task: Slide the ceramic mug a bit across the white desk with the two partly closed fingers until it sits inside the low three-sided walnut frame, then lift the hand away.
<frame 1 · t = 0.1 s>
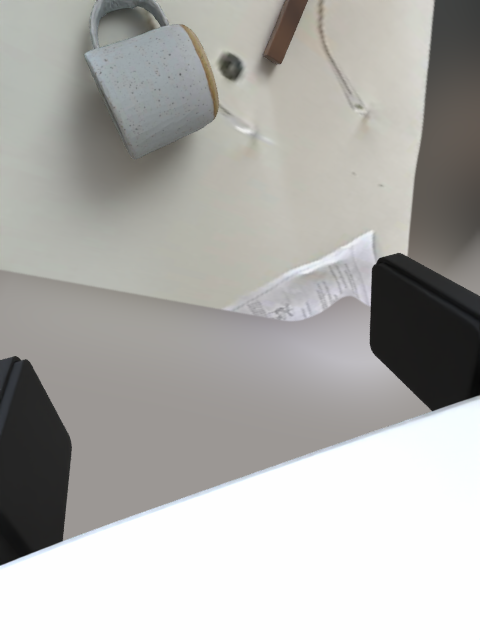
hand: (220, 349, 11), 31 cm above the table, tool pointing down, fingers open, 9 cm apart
ceramic mug: (140, 75, 34), on the table
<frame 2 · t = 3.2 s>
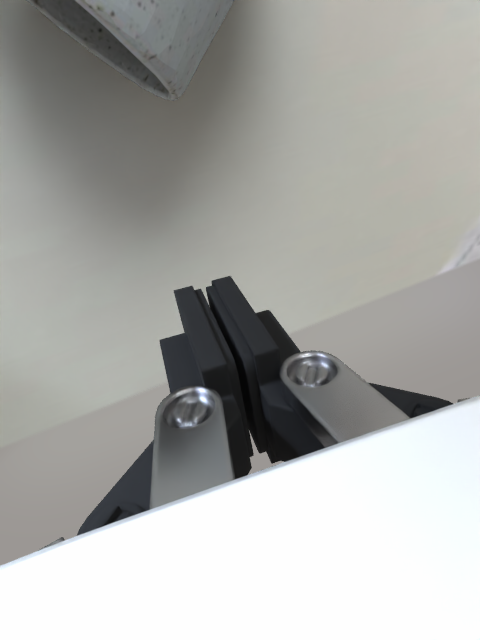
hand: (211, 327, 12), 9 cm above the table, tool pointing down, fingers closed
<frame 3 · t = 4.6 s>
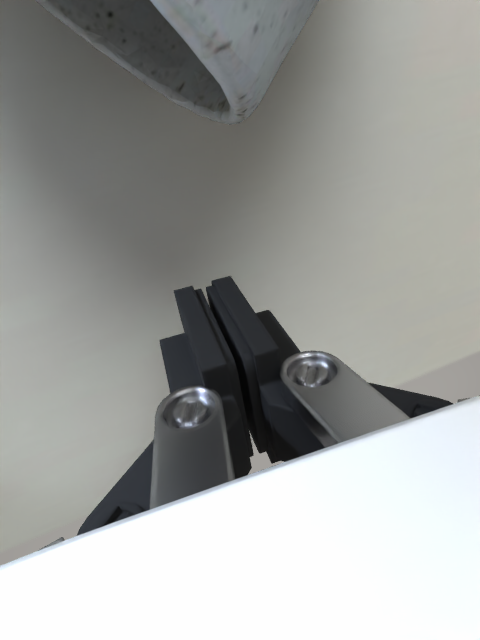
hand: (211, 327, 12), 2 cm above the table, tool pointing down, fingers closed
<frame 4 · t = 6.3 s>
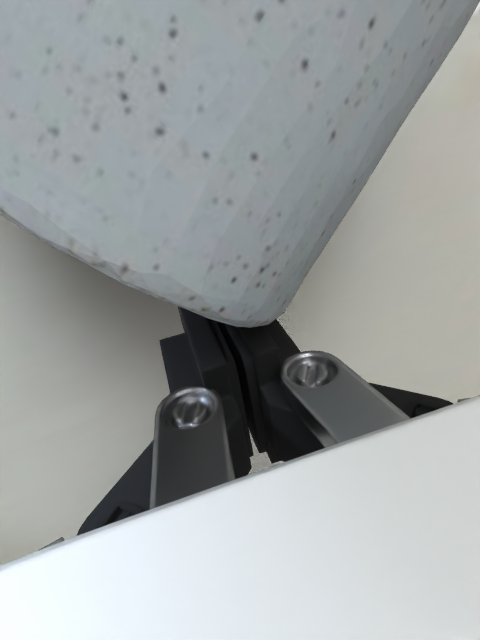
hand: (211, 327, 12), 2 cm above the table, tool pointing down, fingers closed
ceramic mug: (129, 28, 10), on the table, touching gripper
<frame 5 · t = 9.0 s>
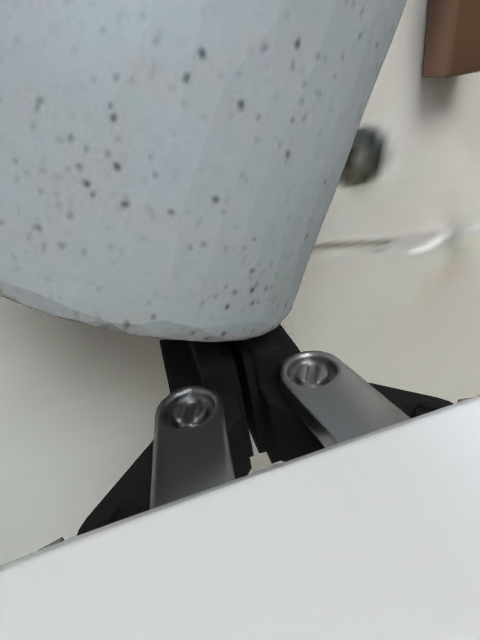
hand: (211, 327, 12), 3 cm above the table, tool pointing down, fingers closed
ceramic mug: (94, 63, 10), on the table, touching gripper
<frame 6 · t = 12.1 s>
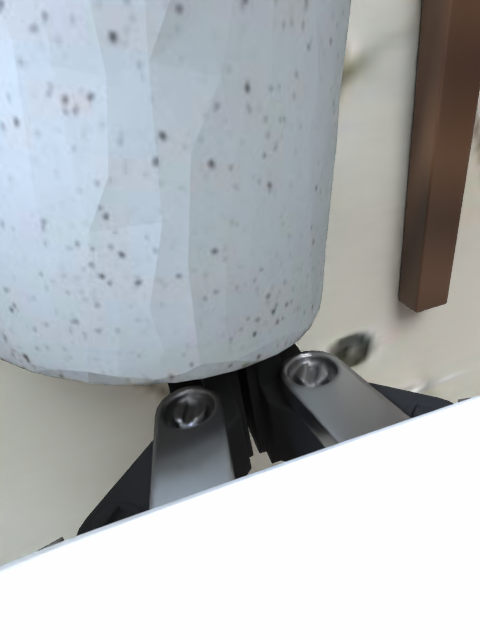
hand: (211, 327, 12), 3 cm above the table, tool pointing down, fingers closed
ceramic mug: (81, 116, 11), on the table, touching gripper
walnut frame: (140, 144, 11), on the table
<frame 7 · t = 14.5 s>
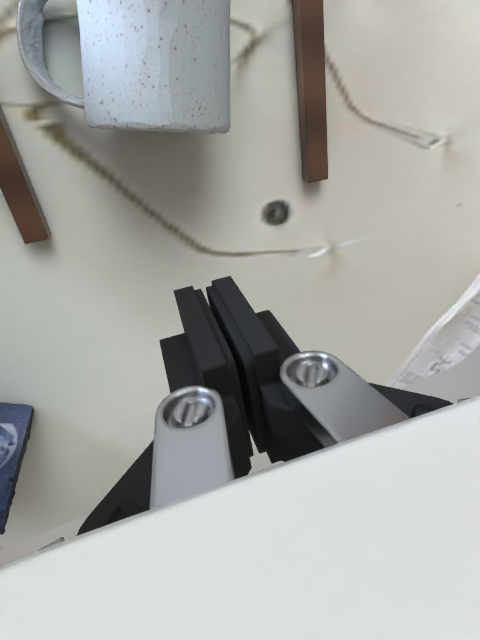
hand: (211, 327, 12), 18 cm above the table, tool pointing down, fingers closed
ceramic mug: (128, 58, 24), on the table
walnut frame: (155, 73, 24), on the table
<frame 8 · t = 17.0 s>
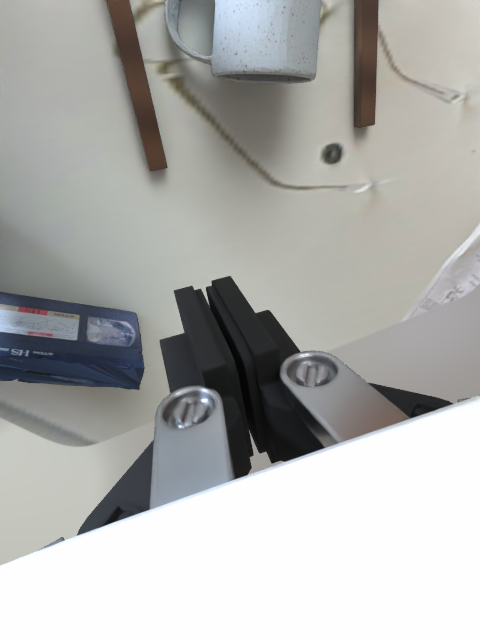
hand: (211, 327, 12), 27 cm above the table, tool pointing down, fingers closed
vhs cassette tape: (36, 307, 38), on the table
ceramic mug: (233, 26, 31), on the table
walnut frame: (252, 38, 32), on the table
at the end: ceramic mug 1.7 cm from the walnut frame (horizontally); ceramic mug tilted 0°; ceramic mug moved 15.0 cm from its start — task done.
